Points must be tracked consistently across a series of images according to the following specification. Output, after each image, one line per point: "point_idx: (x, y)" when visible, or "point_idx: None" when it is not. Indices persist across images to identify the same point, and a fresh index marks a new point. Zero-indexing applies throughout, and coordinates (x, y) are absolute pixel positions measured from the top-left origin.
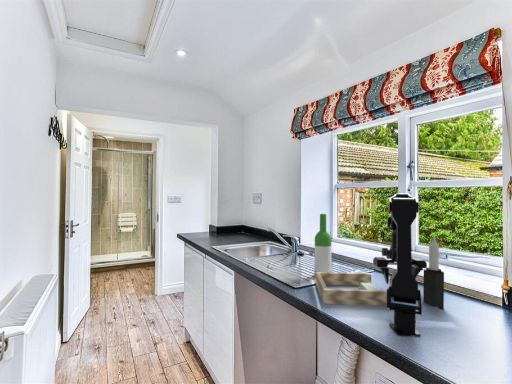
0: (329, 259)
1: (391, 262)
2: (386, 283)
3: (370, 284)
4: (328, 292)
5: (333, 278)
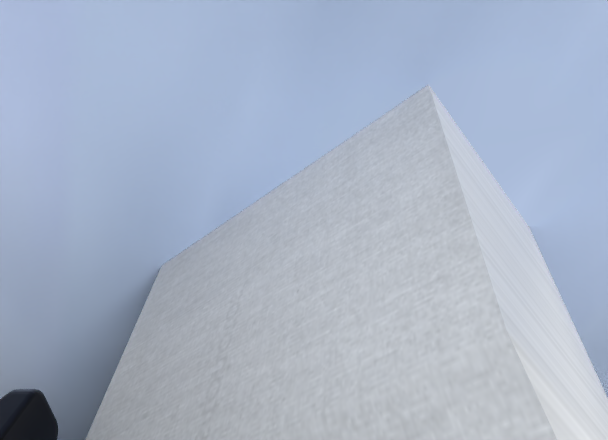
0: None
1: None
2: (22, 394)
3: None
4: None
5: None
